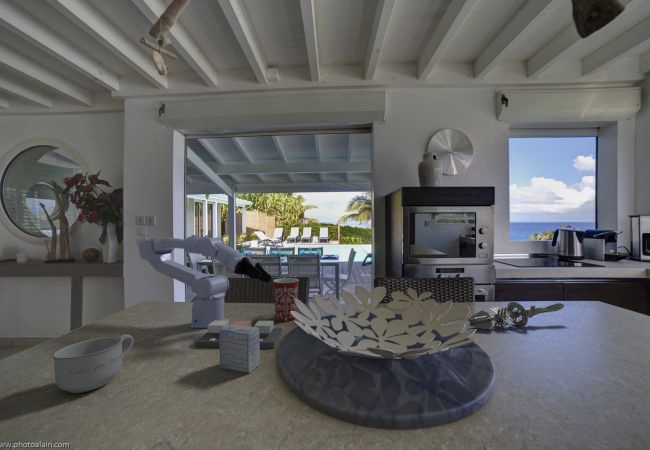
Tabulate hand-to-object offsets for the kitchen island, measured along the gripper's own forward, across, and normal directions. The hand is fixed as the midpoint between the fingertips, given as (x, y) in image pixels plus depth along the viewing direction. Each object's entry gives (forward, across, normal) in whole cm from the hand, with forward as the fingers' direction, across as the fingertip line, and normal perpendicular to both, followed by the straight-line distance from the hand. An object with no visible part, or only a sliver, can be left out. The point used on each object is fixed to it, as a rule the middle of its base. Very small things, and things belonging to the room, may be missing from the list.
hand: (265, 278), depth 88 cm
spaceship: (+74, +25, -25) cm, 82 cm away
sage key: (+9, -2, +12) cm, 15 cm away
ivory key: (-3, -4, +18) cm, 19 cm away
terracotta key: (+3, -3, +15) cm, 16 cm away
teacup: (-8, -28, +33) cm, 43 cm away
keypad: (+4, -2, +18) cm, 18 cm away
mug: (+6, +20, +10) cm, 23 cm away
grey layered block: (+13, -16, +19) cm, 28 cm away
